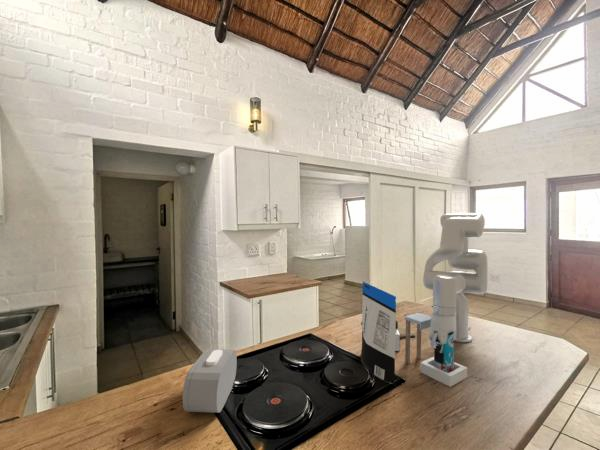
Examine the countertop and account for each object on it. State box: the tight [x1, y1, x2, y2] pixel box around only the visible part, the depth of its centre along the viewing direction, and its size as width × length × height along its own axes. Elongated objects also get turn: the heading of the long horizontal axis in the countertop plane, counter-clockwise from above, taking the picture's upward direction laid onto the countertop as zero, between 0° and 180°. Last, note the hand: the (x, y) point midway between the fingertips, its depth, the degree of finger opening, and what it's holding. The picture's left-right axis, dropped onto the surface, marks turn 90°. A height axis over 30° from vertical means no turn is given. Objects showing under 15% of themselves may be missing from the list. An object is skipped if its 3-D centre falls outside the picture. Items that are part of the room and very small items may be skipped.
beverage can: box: [436, 332, 455, 373], centre depth 100 cm, size 6×6×15 cm
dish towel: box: [361, 321, 416, 340], centre depth 142 cm, size 17×23×2 cm
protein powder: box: [360, 281, 397, 387], centre depth 104 cm, size 10×24×30 cm, turn 13°
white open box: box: [404, 312, 468, 388], centre depth 103 cm, size 11×18×18 cm, turn 33°
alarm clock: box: [181, 348, 238, 414], centre depth 84 cm, size 21×10×13 cm, turn 178°
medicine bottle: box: [395, 320, 401, 352], centre depth 122 cm, size 7×7×12 cm
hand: (443, 359), depth 100 cm, fingers closed on beverage can, 5 cm apart
